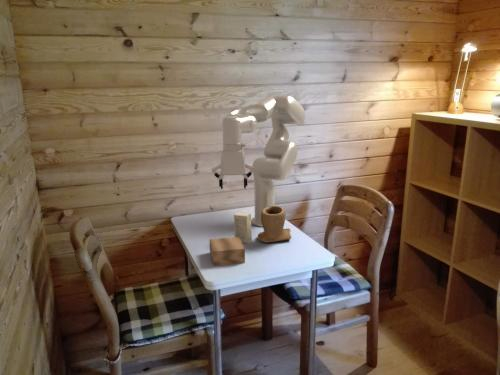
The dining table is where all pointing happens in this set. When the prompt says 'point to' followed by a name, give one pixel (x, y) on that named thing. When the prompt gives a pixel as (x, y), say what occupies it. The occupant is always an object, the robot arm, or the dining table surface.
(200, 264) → the dining table surface
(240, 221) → the skincare box
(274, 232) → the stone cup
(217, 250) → the walnut block
